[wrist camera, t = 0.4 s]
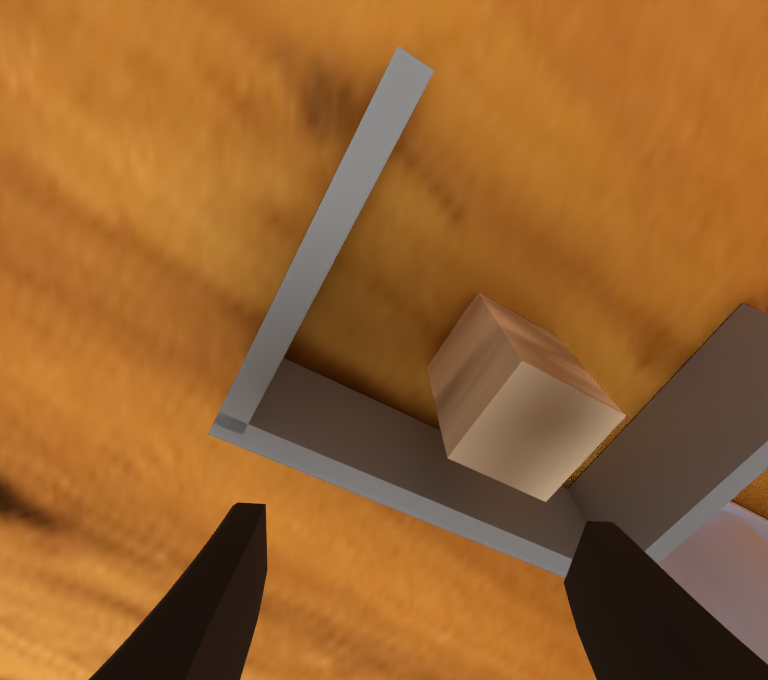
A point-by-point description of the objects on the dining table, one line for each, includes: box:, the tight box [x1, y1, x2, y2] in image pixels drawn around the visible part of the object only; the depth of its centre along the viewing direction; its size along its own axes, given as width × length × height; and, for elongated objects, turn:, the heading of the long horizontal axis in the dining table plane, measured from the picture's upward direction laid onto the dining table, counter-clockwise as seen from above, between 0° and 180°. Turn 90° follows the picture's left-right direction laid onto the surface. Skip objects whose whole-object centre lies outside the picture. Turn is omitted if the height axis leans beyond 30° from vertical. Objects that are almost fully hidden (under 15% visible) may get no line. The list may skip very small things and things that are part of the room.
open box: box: [208, 46, 768, 578], centre depth 17 cm, size 18×12×5 cm
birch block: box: [427, 292, 626, 502], centre depth 17 cm, size 4×4×6 cm
